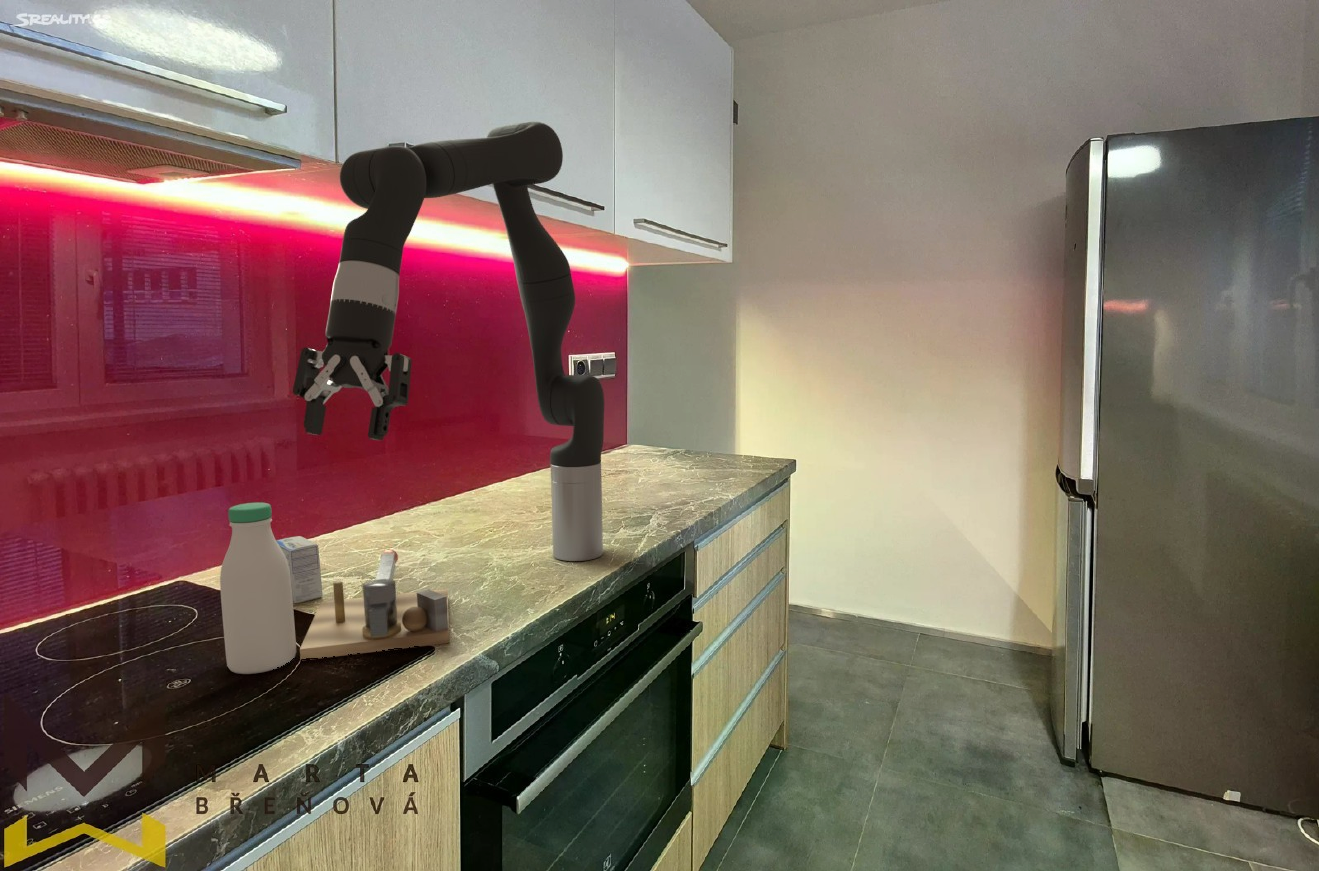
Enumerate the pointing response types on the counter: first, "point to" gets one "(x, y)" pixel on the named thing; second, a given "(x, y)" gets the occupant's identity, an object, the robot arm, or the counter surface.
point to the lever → (381, 597)
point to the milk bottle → (256, 594)
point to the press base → (346, 632)
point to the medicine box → (303, 568)
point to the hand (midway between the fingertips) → (343, 436)
